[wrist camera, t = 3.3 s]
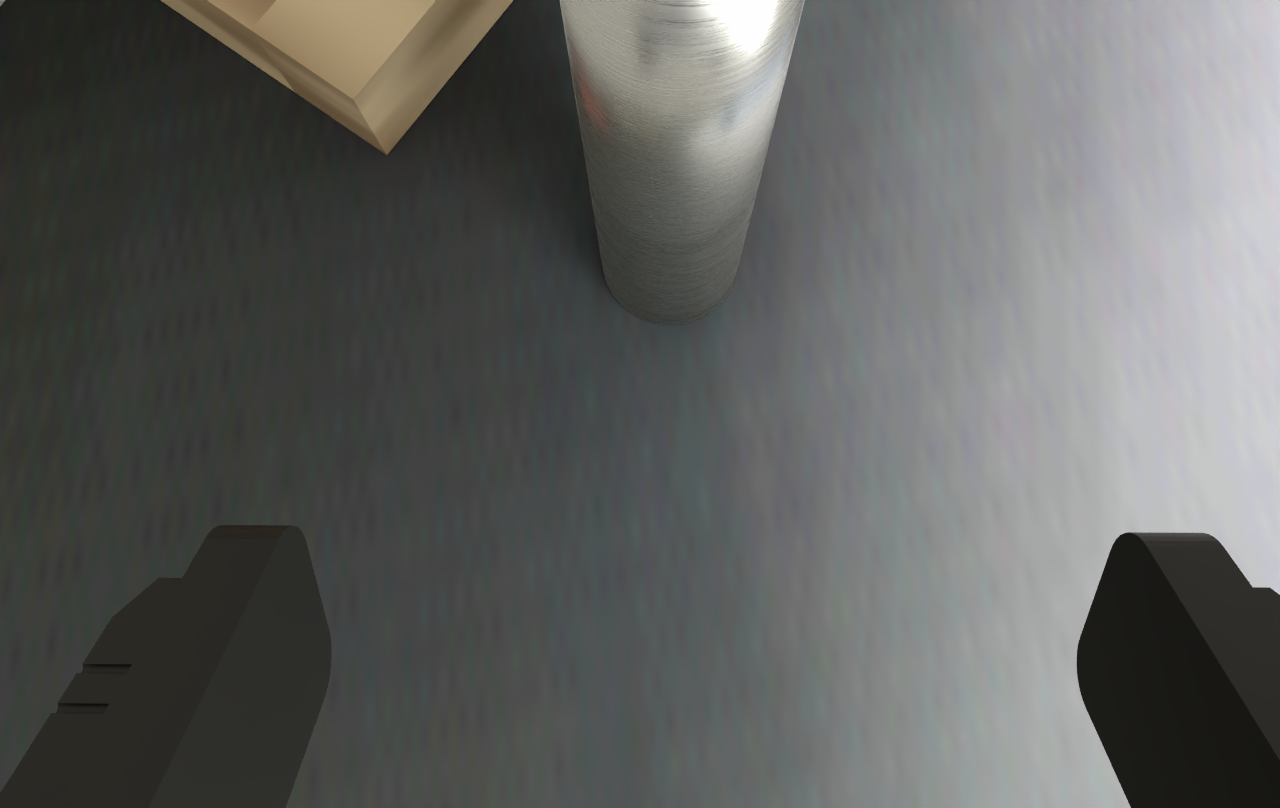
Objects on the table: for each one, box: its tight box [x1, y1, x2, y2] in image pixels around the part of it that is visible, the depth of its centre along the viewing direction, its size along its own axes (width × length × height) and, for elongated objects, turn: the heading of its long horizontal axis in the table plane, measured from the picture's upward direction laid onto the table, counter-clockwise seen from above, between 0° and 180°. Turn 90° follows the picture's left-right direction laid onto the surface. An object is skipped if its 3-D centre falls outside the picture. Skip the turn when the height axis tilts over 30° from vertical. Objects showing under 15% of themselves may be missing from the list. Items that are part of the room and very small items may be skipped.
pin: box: [560, 0, 805, 325], centre depth 19 cm, size 4×4×14 cm
